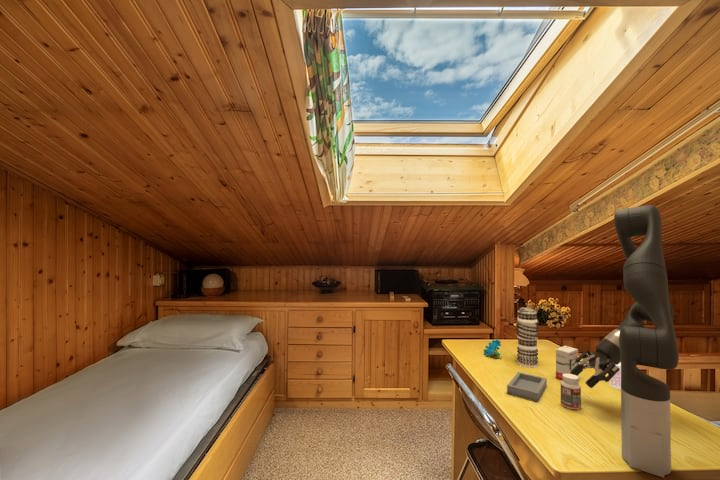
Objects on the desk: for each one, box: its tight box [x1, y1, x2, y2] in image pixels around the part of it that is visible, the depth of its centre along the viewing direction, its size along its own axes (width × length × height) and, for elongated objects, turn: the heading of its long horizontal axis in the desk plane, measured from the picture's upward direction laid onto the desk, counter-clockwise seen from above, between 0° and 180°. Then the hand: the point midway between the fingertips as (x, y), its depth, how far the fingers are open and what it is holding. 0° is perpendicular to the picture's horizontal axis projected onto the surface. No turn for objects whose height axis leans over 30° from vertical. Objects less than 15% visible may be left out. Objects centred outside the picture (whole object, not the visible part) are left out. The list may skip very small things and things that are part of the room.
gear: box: [483, 338, 502, 360], centre depth 158 cm, size 11×6×10 cm
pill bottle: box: [560, 374, 582, 410], centre depth 109 cm, size 6×6×10 cm
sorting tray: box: [506, 371, 548, 403], centre depth 121 cm, size 16×10×3 cm, turn 141°
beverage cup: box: [609, 362, 621, 391], centre depth 123 cm, size 6×6×14 cm
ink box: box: [555, 345, 579, 381], centre depth 132 cm, size 8×5×12 cm, turn 123°
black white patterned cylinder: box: [515, 306, 540, 368], centre depth 148 cm, size 9×9×25 cm
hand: (580, 380), depth 109 cm, fingers open, 8 cm apart
